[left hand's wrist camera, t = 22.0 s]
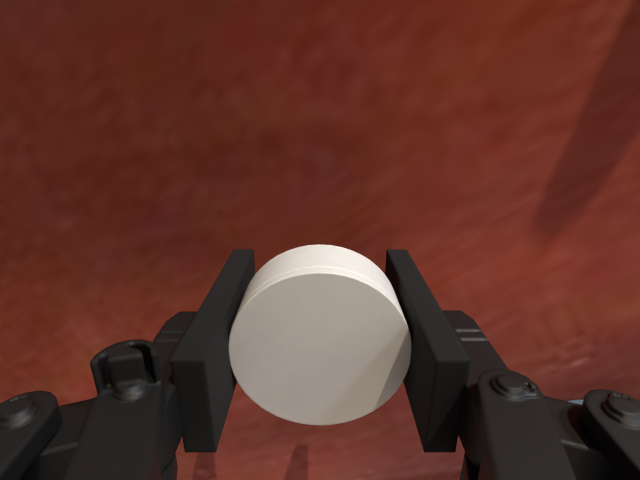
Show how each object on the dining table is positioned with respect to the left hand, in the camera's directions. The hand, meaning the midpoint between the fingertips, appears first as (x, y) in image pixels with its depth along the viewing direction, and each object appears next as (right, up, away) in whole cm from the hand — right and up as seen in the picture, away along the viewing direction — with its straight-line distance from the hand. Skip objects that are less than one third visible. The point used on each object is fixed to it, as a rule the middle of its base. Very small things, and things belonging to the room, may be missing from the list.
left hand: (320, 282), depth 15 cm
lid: (0, -1, -4) cm, 4 cm away
